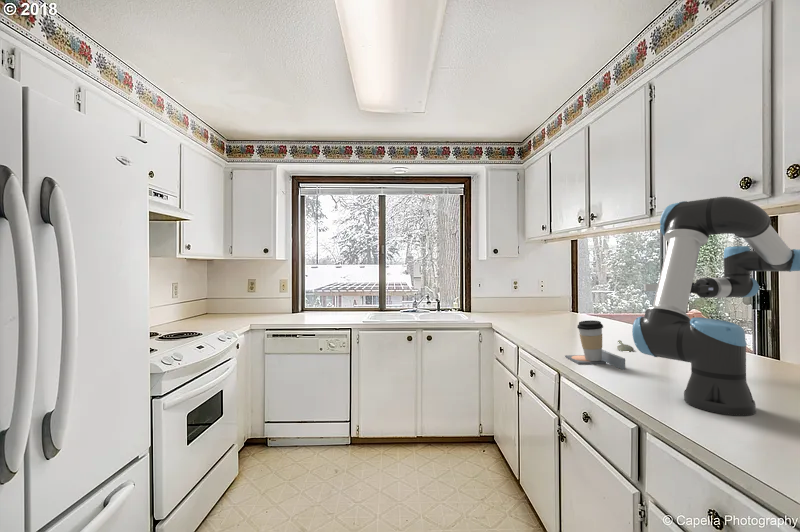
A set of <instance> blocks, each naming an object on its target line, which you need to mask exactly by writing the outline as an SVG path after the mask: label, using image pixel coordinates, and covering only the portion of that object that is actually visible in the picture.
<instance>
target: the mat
mask: <svg viewBox="0 0 800 532" xmlns="http://www.w3.org/2000/svg"><path fill="white" fill-rule="evenodd" d="M565 357H566V359H567V358H568V359H567V360H569V359H570V361H572V362H573V363H575V364H576V365H607V363H606V362H605V361H603V360H600V361H588V360H586V359H585V355H584V354H577V355H575V354H573V355H571V354H569V355H567V354H566V355H564V358H565Z"/></svg>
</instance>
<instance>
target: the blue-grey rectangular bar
mask: <svg viewBox="0 0 800 532" xmlns="http://www.w3.org/2000/svg"><path fill="white" fill-rule="evenodd" d="M602 360H603V361H605V362H607V363H606V364H608V363H609V364H608V365H610V366H613V367H615V368H617V369H619V368H620V370H626V357H622V356H620V355H617V354H615V353H612V352H610V351H607V350H604V349H602Z"/></svg>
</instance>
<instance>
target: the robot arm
mask: <svg viewBox="0 0 800 532" xmlns="http://www.w3.org/2000/svg"><path fill="white" fill-rule="evenodd" d="M771 223H772V221H771V217H770V216H769V214H768V213H767V212H766V211H765V210H764V208H762V207H760V206H759V205H757V204H755V203H753V202H750V201H749V200H745V199H742V198H739V197H733V196H717V197H712V198H704V199H696V200H690V201H687V200H684V201H683V200H682V201H679V202H675V203H674V202H673V203H672V204H669V205H668V206H666V207H665V208H664V209H663V211H662V213H661V216H660V219H659V224H660V226H659V230H660V233H661V234H662V236H663V238H664V239H665V241H666V242H667V247H666V251H665V256H664V258H663V263H662V268H661V271H660V276H659V279H658V283H644V284H643V291H644V292H651V291H652V292H655V295H654V300H653V304H652V306H651V307H648V308H646V309H645V312H644V315H643V316H637V317H636V318H635V319H634V321H633V324H632V328H631V329H632V340H633V343H634V345H635V347H636V348H637V350H638V351H639V353H641V354H644V355H647V356H652V357H653V358H662V359H666V360H674V361H678V362H679V361H680V362H683V363H684V362H685V363H690V366H691V368H690V370H691V372H690V376H689V379H688V382H687V385H686V387H685V389H684V391H683V401H684V402H685V403H686V404H688V405H690V406H691V407H694V408H697V409H700V410H702V411H703V410H704V411H707V412H711V413H716V414H721V415H729V416H752V415H755V413H756V412H757V411H756V409H757V408H756V407H757V405H756V402H755V400H754V399H753V395H752V393H751V389H750V387H749V385H748V383H747V345H748V344H747V340H746V331H745V329H744V328H743V327H742V326H741V325H739V324H738V323H734V322H730V321H726V320H722V319H716V318H710V317H708V318H707V317H690V316H689V315H688V314H687V309H688V304H689V299H690V296H691V294H696V295H697V296H698V297H700V298H703V299H707V298H708V299H712V298H717V299H718V300H721V299H722V298H738V299H739V298H741V299H742V298H751V297H755V295H757V294H758V292H759V290H760V285H759V283H758V281H757V279H755V278H753V277H751V272H789V273H790V272H800V249H796V248H793V249H792V248H790V247H789V246H788V244H787V243H786V242H785V241H784V240H783V238H782V236H780V235H779V233H777V231H776V230H775V229H774V227H773V226H772V225H771ZM723 234H724V235H725V234H727V235H729V234H731V235H734V236H736V237H738V238H740V239H743V240H744V241H745V242H746V243H747V244H748V245H749V246H748V245H747V246H746V245H740V246H739V245H736V246H726V247H725V248H724V249H723V258H722V259H723V277H701V278H698V279H697V280H696V281H695V282H694V279H695V278H694V277H695V272H696V269H697V265H698V264H697V263H698V259H699V254H700V251H701V247H703V246H705V245H707V243H708V241H709V238H710V236H712V235H714V236H715V235H723ZM751 248H752V249H753V250H751Z"/></svg>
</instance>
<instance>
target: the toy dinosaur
mask: <svg viewBox="0 0 800 532" xmlns="http://www.w3.org/2000/svg"><path fill="white" fill-rule="evenodd" d="M618 342H619V343H618ZM617 343H618V344H619V345H617V346H616V349H617V350H618V351H620V350H621V351H620V352H623V351H629V352H628V353H632V352H631V351H633V352H634V350H635V349H634V347H633V346H631V345H630V344H624V343H623V342H622V340H620V339H619V340H617Z"/></svg>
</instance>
